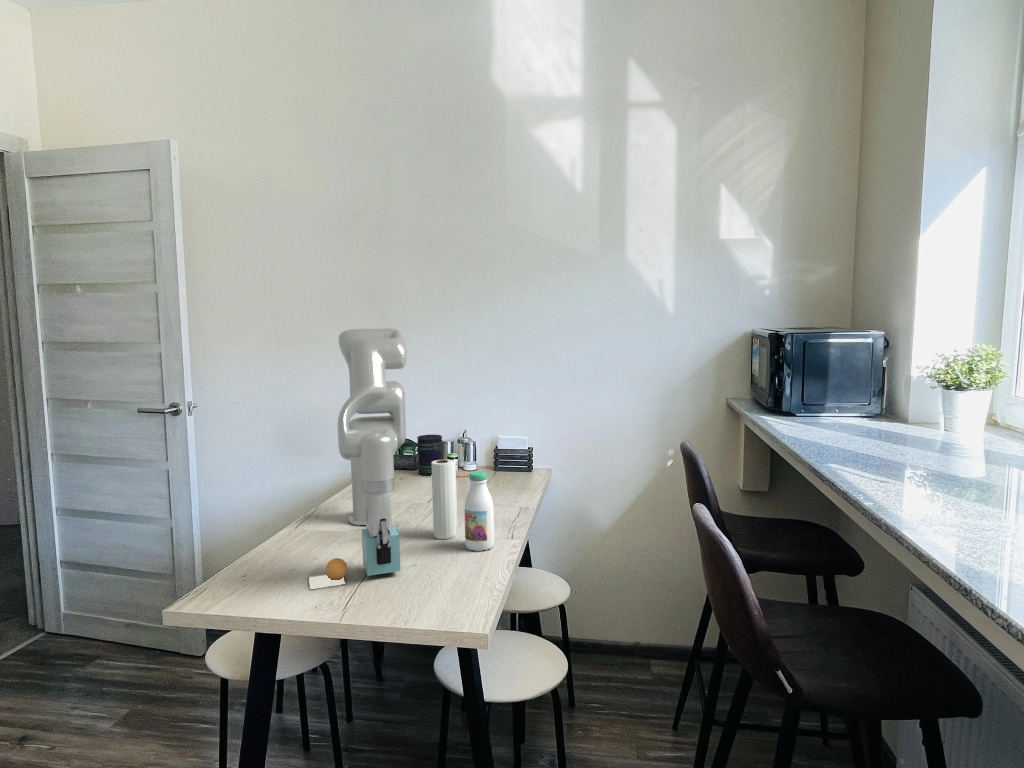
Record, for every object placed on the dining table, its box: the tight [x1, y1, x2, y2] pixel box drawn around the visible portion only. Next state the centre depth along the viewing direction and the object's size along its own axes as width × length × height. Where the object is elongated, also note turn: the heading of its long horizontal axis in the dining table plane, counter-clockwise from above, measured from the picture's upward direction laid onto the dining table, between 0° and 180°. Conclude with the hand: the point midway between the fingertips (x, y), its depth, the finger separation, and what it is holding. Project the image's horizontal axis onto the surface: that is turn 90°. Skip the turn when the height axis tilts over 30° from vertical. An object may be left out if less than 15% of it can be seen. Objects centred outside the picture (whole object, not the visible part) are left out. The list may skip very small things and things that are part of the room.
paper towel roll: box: [431, 458, 458, 540], centre depth 181 cm, size 7×6×21 cm
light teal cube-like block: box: [361, 524, 401, 577], centre depth 156 cm, size 8×8×9 cm
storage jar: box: [416, 434, 443, 477], centre depth 256 cm, size 10×10×15 cm
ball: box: [324, 557, 348, 580], centre depth 152 cm, size 5×5×5 cm
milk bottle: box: [464, 471, 495, 552], centre depth 172 cm, size 8×8×20 cm
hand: (381, 557), depth 156 cm, fingers closed on light teal cube-like block, 7 cm apart
